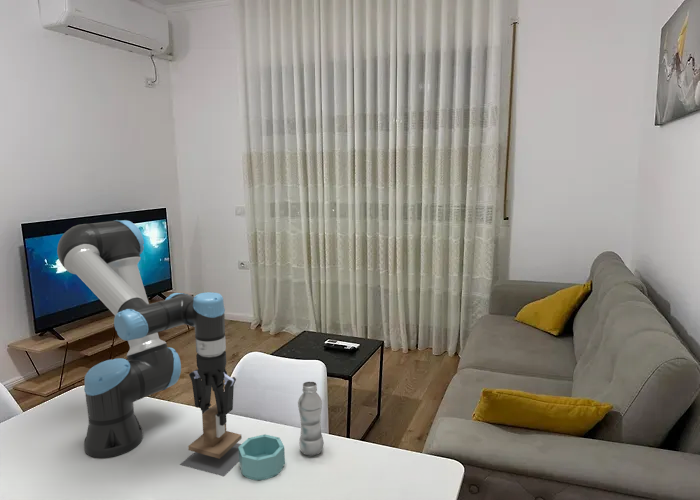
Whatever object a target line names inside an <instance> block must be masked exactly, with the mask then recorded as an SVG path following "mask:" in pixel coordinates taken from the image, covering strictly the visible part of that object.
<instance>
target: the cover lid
mask: <svg viewBox="0 0 700 500" xmlns="http://www.w3.org/2000/svg"><path fill="white" fill-rule="evenodd" d="M210 407H211V408H210ZM210 407H209V408H210V409H208V410H207V411H206V412H204V413H203V414H202V413H201V417H202V418H201V419H202V434H201V435H200V436H198V437H197V439H195V440H193V442H192V443H190V444H189V445H188V446H187V448H188V451H191V452H193V453H194V452H197V453H201V454H204V455H208V456H211V457H215V458H219V459H220V458H221V457H222V456H223V455H224V454H225V453H227V452H228V451H229V450H230V449H231V448H232V447H233V446H234V445H235V444H236V443H239V442H240V441H241V440H242V434H239V433H237V432H236V433H235V432H232V431H228V430H227V423H226V424H225V433H224V434H223V435H222V436H220V437H219V438H218V437H217V435H216V414H217V413H218V410H217V405H216V403H214V405H211V406H210Z"/></svg>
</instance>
